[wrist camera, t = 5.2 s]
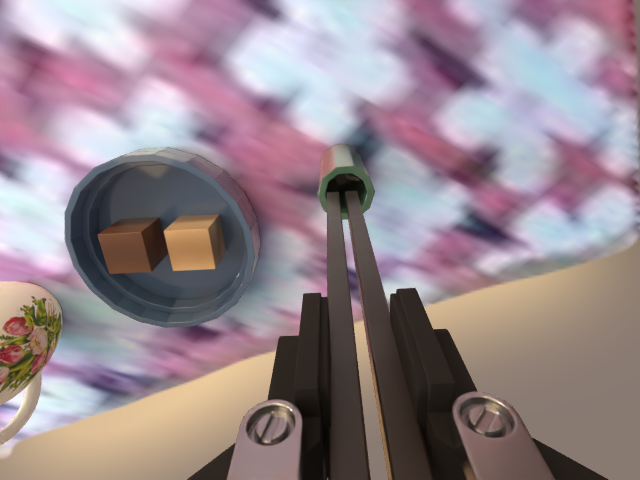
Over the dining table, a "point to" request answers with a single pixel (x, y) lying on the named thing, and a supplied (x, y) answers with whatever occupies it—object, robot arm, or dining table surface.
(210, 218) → the beech block
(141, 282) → the bowl
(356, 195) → the chopsticks
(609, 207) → the dining table surface
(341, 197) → the holder
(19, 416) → the pitcher
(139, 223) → the walnut block
